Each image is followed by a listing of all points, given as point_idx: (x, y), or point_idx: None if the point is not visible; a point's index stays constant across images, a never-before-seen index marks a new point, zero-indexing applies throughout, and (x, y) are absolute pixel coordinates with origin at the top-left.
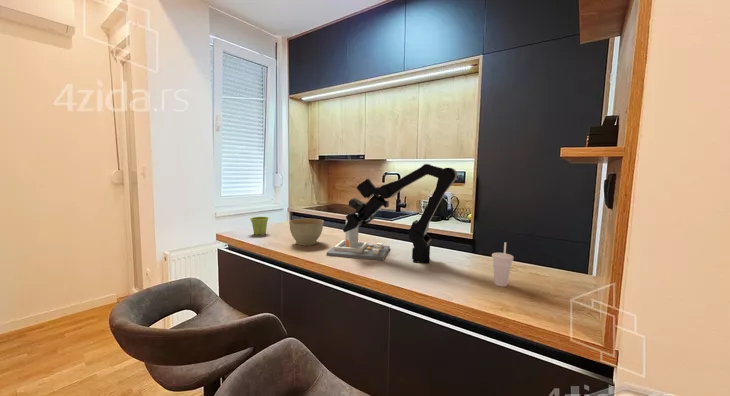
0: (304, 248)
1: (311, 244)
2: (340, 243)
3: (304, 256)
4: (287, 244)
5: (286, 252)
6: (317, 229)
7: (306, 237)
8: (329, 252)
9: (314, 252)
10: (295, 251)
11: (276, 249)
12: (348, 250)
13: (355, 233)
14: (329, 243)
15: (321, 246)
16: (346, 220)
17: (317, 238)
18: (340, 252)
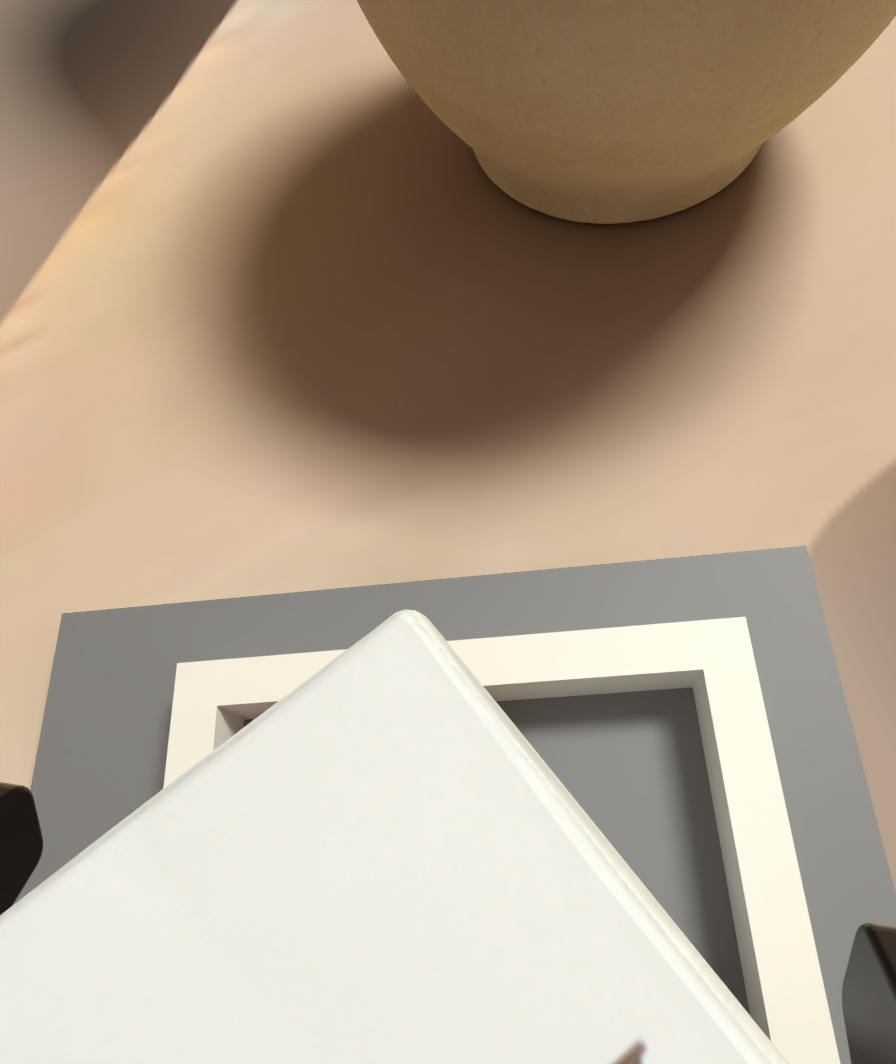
0: (359, 226)
1: (539, 210)
2: None
3: (16, 392)
4: None
5: (147, 161)
6: (518, 40)
7: (409, 83)
8: (69, 658)
9: (207, 414)
10: (204, 211)
11: (238, 36)
12: None
13: None
14: (777, 379)
15: (540, 356)
16: (423, 649)
17: (626, 182)
18: None
